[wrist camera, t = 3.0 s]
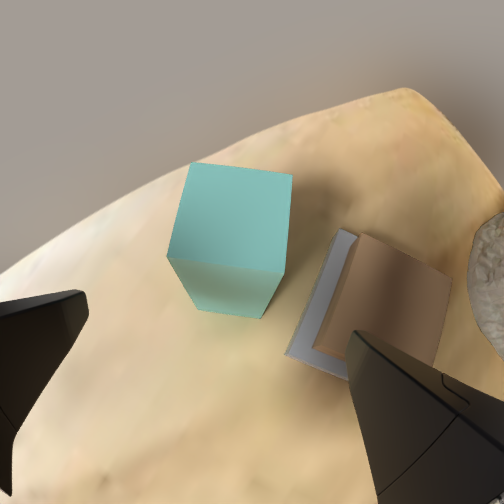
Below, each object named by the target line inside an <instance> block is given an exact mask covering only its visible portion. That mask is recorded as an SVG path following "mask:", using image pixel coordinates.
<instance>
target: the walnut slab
mask: <svg viewBox="0 0 504 504" xmlns="http://www.w3.org/2000/svg"><path fill="white" fill-rule="evenodd" d="M451 284H452V278H451V277H449V276H447V275H445V274H443V273H441V272H440V271H438V270H436V269H434V268H432V267H430V266H428V265H426V264H424V263H423V262H421V261H419V260H417V259H415V258H413V257H411V256H409V255H407V254H405V253H403V252H401V251H399V250H397V249H395V248H393V247H391V246H389V245H387V244H385V243H383V242H381V241H379V240H377V239H375V238H373V237H371V236H369V235H367V234H364V233H361V234H360V235H359V236H358V238H357V239H356V240H355V241H354V242H353V243H352V245H351V246H350V248H349V251H348V254H347V257H346V260H345V262H344V265H343V268H342V271H341V274H340V277H339V279H338V282H337V285H336V287H335V290H334V293H333V295H332V298H331V301H330V303H329V306H328V309H327V311H326V314H325V316H324V319H323V321H322V324H321V326H320V329H319V331H318V334H317V336H316V339H315V341H314V343H313V346H312V348H313V349H315V350H317V351H320V352H322V353H325V354H327V355H330V356H332V357H334V358H337V359H339V360H342V361H344V362H346V361H345V349H346V346H347V344H348V341H349V339H350V336H351V333H352V332H353V331H354V330H365V331H367V332H369V333H371V334H372V335H374V336H376V337H378V338H380V339H381V340H383V341H385V342H387V343H389V344H390V345H392V346H394V347H396V348H398V349H400V350H401V351H403V352H405V353H407V354H409V355H411V356H412V357H414V358H416V359H418V360H420V361H422V362H423V363H425V364H427V365H429V366H431V367H432V366H433V362H434V359H435V355H436V352H437V348H438V344H439V341H440V337H441V333H442V328H443V324H444V320H445V315H446V311H447V306H448V301H449V296H450V290H451Z"/></svg>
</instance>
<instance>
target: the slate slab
mask: <svg viewBox="0 0 504 504" xmlns="http://www.w3.org/2000/svg"><path fill="white" fill-rule="evenodd" d="M357 238H358V237H357V236H355V235H353V234H351V233H349V232H347V231H345V230H343V229H340V228H339V230H338V231H337V233H336V234H335V236H334V237H333V239H332V241H331V244H330V246H329V249H328V252H327V254H326V257H325V259H324V262H323V265H322V267H321V270H320V272H319V275H318V277H317V280H316V282H315V284H314V287H313V289H312V292H311V294H310V297H309V299H308V301H307V304H306V306H305V309H304V311H303V313H302V316H301V318H300V320H299V323H298V325H297V327H296V329H295V332H294V334H293V336H292V339H291V341H290V343H289V345H288V347H287V350H286V352H285V354H284V355H286V356H288V357H290V358H292V359H295V360H297V361H300V362H302V363H304V364H307V365H309V366H311V367H314V368H316V369H319V370H321V371H324V372H326V373H329V374H331V375H334V376H336V377H339V378H341V379H344V380H347V381H348V374H347V368H346V362H344V361H342V360H339V359H337V358H334V357H332V356H330V355H327V354H325V353H322V352H320V351H317V350H315V349H313V348H312V346H313V343H314V341H315V339H316V336H317V334H318V331H319V329H320V326H321V324H322V321H323V319H324V316H325V314H326V311H327V309H328V306H329V303H330V301H331V298H332V295H333V293H334V290H335V287H336V285H337V282H338V279H339V277H340V274H341V271H342V268H343V265H344V262H345V260H346V257H347V254H348V251H349V248H350V246H351V245H352V243H353V242H354V241H355V240H356V239H357Z"/></svg>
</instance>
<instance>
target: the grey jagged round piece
mask: <svg viewBox="0 0 504 504" xmlns="http://www.w3.org/2000/svg"><path fill="white" fill-rule="evenodd" d="M468 269H469V271H467V288H468V293H469V298H470V303H471V307H472V309H473V314H474V317H475V320H476V322H477V325H478V326H479V327H480V330H481V332H482V333H483V334H484V335H485V336H486V338H487V339H488V340H489V341H490V342H491V343H492V344H491V345H493V346H494V348H495V349H496V351H497V353H498V355H499V356H500V357H502V359H503V361H504V212H502V213H500V214H497V215H495V216H494V217H493V218H492V219H491V220H489V221H488V222H487V223H485V224H483V226H481V227H480V229H479V230H478V231H477V232H476V235H475V238H474V242H473V249H472V251H471V255H470V259H469V264H468Z"/></svg>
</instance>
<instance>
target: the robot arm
mask: <svg viewBox="0 0 504 504" xmlns="http://www.w3.org/2000/svg"><path fill="white" fill-rule="evenodd" d="M88 316H89V309H88V304H87V298H86V294H85V292H84V291H80V290H76V289H74V290H68V291H62V292H57V293H51V294H46V295H40V296H34V297H29V298H23V299H17V300H12V301H6V302H0V490H1V491H2V492H4V493H5V494H7V495H8V496H10V497H11V496H12V450H13V442H14V439H15V436H16V434H17V432H18V431H19V429H20V427H21V426H22V424H23V422H24V421H25V419H26V417H27V416H28V414H29V412H30V411H31V409H32V407H33V406H34V404H35V402H36V401H37V399H38V398H39V396H40V394H41V393H42V391H43V390H44V388H45V387H46V385H47V384H48V382H49V381H50V379H51V377H52V376H53V374H54V373H55V371H56V370H57V368H58V367H59V365H60V364H61V363H62V361H63V360H64V358H65V357H66V355H67V354H68V352H69V351H70V349H71V348H72V346H73V345H74V343H75V341H76V339H77V337H78V335H79V334H80V332H81V330H82V328H83V326H84V325H85V323H86V321H87V319H88ZM345 361H346V368H347V374H348V381H349V388H350V392H351V396H352V400H353V403H354V407H355V410H356V414H357V418H358V421H359V425H360V429H361V433H362V437H363V441H364V444H365V448H366V452H367V456H368V461H369V465H370V469H371V473H372V477H373V482H374V486H375V490H376V495H377V500H378V504H504V402H503V401H501V400H499V399H496V398H494V397H492V396H490V395H487V394H485V393H483V392H481V391H479V390H476V389H474V388H472V387H470V386H468V385H466V384H464V383H462V382H460V381H458V380H456V379H454V378H452V377H450V376H448V375H446V374H445V373H441V372H440V371H438V370H436V369H434V368H433V367H431V366H429V365H427V364H425V363H423V362H422V361H420V360H418V359H416V358H414V357H412V356H411V355H409V354H407V353H405V352H403V351H401V350H400V349H398V348H396V347H394V346H392V345H390V344H389V343H387V342H385V341H383V340H381V339H380V338H378V337H376V336H374V335H372V334H371V333H369V332H367V331H365V330H354V331H353V332H352V333H351V336H350V339H349V341H348V344H347V346H346V349H345Z"/></svg>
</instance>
